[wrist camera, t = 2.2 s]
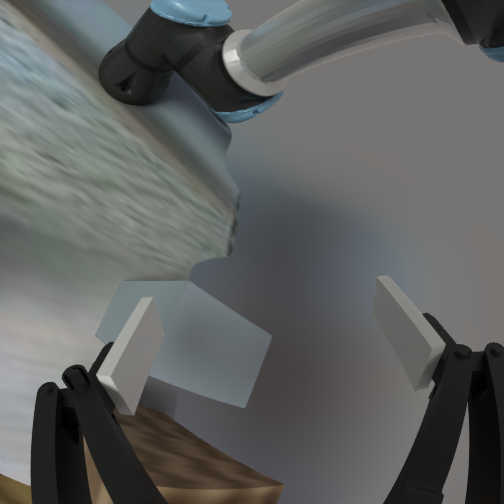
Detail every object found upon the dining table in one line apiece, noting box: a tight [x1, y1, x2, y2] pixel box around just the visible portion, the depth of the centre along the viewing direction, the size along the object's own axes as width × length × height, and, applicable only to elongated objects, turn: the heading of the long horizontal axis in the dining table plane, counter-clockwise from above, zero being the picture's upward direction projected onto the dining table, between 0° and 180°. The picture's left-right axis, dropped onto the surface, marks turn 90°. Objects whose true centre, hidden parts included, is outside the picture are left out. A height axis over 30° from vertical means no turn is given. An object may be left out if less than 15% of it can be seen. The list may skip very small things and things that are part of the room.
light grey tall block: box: [95, 281, 272, 408], centre depth 36 cm, size 14×10×20 cm
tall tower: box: [83, 405, 285, 504], centre depth 26 cm, size 18×10×28 cm, turn 62°
